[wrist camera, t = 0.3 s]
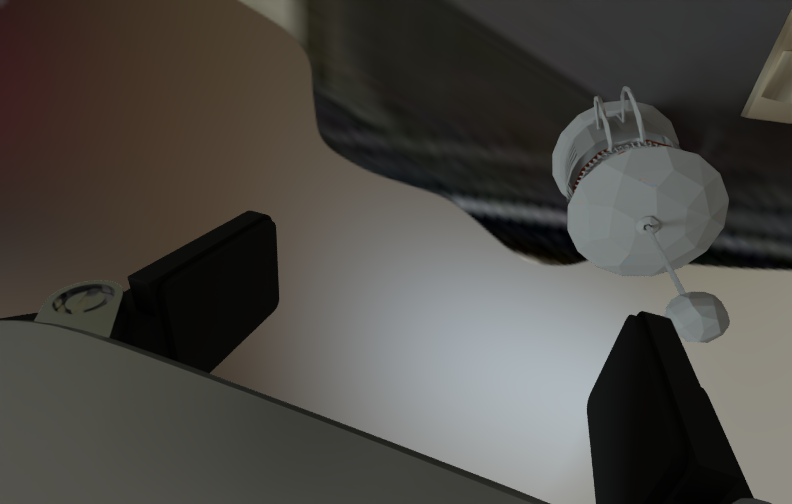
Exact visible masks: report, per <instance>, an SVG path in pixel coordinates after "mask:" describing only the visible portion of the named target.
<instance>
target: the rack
mask: <svg viewBox="0 0 792 504" xmlns="http://www.w3.org/2000/svg"><path fill="white" fill-rule="evenodd" d="M740 116H742V117H745V118H752V119H760V120H767V121H775V122H783V123H790V124H792V9H791V11H790V14H789V16H788V18H787V20H786V22H785V24H784V26H783V28H782V30H781V32H780V34H779V36H778V38H777V40H776V43H775V45H774V47H773V49H772V51H771V53H770V55H769V57H768V59H767V61H766V63H765V65H764V67H763V70H762V72H761V74H760V76H759V78H758V80H757V82H756V84H755V86H754V88H753V90H752V92H751V94H750V96H749V99H748V101H747V103H746V105H745V107H744V109H743V111H742V113H741V115H740Z"/></svg>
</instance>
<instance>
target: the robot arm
mask: <svg viewBox="0 0 792 504" xmlns="http://www.w3.org/2000/svg"><path fill="white" fill-rule="evenodd" d="M128 281H129V284H130V289H129V290H127V291H125V292H124V291H123V288H122V287H121V286H120V285H119V284H117V283H115V282H112V281H105V280H96V281H87V282H81V283H78V284H74V285H70V286H68V287H65V288H63V289H61V290H59V291H57V292H56V293H54V294H53V295H51V296H50V297H49V298H48V299H47V300H46V301H45V302H44V304H43V306H42V308H41V310H40V312H39V313H33V314H26V315H20V316H13V317H7V318H0V504H550V503H547V502H545V501H542V500H540V499H537V498H535V497H532V496H530V495H527V494H525V493H522V492H520V491H517V490H515V489H512V488H510V487H507V486H505V485H502V484H499V483H497V482H494V481H492V480H489V479H486V478H484V477H481V476H479V475H476V474H473V473H471V472H468V471H465V470H463V469H460V468H458V467H455V466H452V465H450V464H447V463H445V462H442V461H439V460H437V459H434V458H432V457H429V456H426V455H424V454H421V453H418V452H416V451H413V450H411V449H408V448H405V447H403V446H400V445H398V444H395V443H393V442H390V441H387V440H385V439H382V438H379V437H376V436H374V435H372V434H369V433H366V432H363V431H361V430H358V429H356V428H353V427H350V426H348V425H345V424H342V423H340V422H337V421H334V420H331V419H329V418H327V417H324V416H321V415H319V414H316V413H313V412H310V411H308V410H305V409H303V408H300V407H297V406H295V405H292V404H289V403H287V402H284V401H281V400H279V399H276V398H273V397H271V396H268V395H266V394H263V393H260V392H258V391H255V390H252V389H249V388H247V387H244V386H241V385H239V384H236V383H233V382H231V381H228V380H225V379H222V378H220V377H217V376H214V375H212V374H209V373H210V372H211V371H212V370H213V369H214V368H215V367H216V366H218V365H219V364H220V363H221V362H222V361H223V360H224V359H225V358H226V357H227V356H228V355H229V354H230V353H231V352H232V351H233V350H234V349H235V348H236V347H237V346H238V345H239V344H240V343H241V342H242V341H243V340H244V339H246V338H247V337H248V336H249V335H250V334H251V333H252V332H253V331H254V330H255V329H256V328H257V327H258V326H259V325H260V324H261V323H262V322H263V321H264V320H265V319H266V318H267V317H268V316H269V315H271V314H272V313H273V312H274V310H275V309H276V308H277V305H278V302H279V285H278V284H279V283H278V261H277V238H276V225H275V223H274V222H273V221H272V220H271V217H270V216H268V215H266V214H262V213H258V212H254V211H247V212H245V213H243V214H241V215H239V216H237V217H236V218H234V219H232V220H231V221H229V222H227V223H225V224H223V225H221V226H219V227H217V228H216V229H214V230H212V231H210V232H208V233H206V234H205V235H203V236H201V237H199V238H197V239H195V240H194V241H192V242H190V243H188V244H186V245H185V246H183V247H181V248H179V249H177V250H175V251H174V252H172V253H170V254H168V255H166V256H164V257H163V258H161V259H159V260H157V261H155V262H154V263H152V264H150V265H148V266H146V267H144V268H143V269H141V270H139V271H137V272H135V273H133V274H132V275H130V276H128ZM587 416H588V426H589V437H590V445H591V446H590V447H591V457H592V467H593V477H594V487H595V498H596V504H771V503H769V502H766V501H762V500H758V499H755V498H753V495H752V493H751V491H750V489H749V486H748V484H747V482H746V480H745V477H744V475H743V473H742V471H741V468H740V466H739V464H738V462H737V460H736V457H735V455H734V453H733V451H732V448H731V446H730V444H729V442H728V439H727V437H726V435H725V433H724V431H723V428H722V426H721V424H720V422H719V420H718V417H717V415H716V413H715V410H714V408H713V406H712V404H711V402H710V399H709V397H708V395H707V393H706V392H705V390H704V389H703V388H702V387H701V386H700V384H699V381H698V379H697V377H696V375H695V372H694V370H693V368H692V366H691V363H690V361H689V359H688V356H687V354H686V352H685V350H684V347H683V345H682V343H681V340H680V338H679V336H678V334H677V331H676V329H675V327H674V324H673V322H672V320H671V319H670V318H667V317H663V316H660V315H655V314H652V313H648V312H644V311H641V312H639V313H638V314H637V316H634V315H629V316H628V317H627V319H626V321H625V323H624V325H623V327H622V329H621V331H620V333H619V335H618V337H617V339H616V341H615V344H614V346H613V348H612V350H611V352H610V354H609V356H608V358H607V360H606V362H605V364H604V367H603V368H602V371H601V373H600V375H599V377H598V379H597V381H596V383H595V385H594V387H593V389H592V391H591V393H590V396H589V399H588V404H587Z"/></svg>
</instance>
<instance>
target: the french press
mask: <svg viewBox="0 0 792 504" xmlns="http://www.w3.org/2000/svg"><path fill="white" fill-rule="evenodd" d="M625 92H627V93H628V95H629V98H630V100H625ZM598 103H599V105H598ZM553 176H554V178H555V181H556V183H557V185H558V187H559V189H560V191H561V193H562V194H563V195H565V196H566V197H567V198H568V199H569V200H570V201H569V200H568V199H567V202H568V204H569V205H568V232H569V234H570V236H571V238H572V240H573V242H574V244H575V246H576V248H577V251H578V252H579V253H581V254H582V255H583V256H584V257H586V258H587V259H588V260H589V261H590V262H592V263H593V264H594V265H595V266H597V267H599V268H602V269H604V270H607V271H610V272H613V273H616V274H619V275H622V276H654V275H657V274H661V273H664V272H669V274H670V276H671V278H672V280H673V282H674V284H675V286H676V288H677V290H678V292H679V294H680V295H678V296H677V297H675V298H674V299H672V300H671V301H670V302H669V304H668V305H667V307H666V311H665V317H667V318H670V319H671V320H672V322H673V324H674V327H675V329H676V331H677V334H678V335H679V336H680V337H682V338H683V339H684V340H685V341H689V342H706V343H708V342H710V341H712V340H714V339H715V338H717V337H719V336H721V335H723V333H724V332H725V331H726V329H727V328H728V326H729V322H730V321H729V317H728V313H727V311H726V309H725V307H724V306H723V304H722V302H721V301H720V300H719V299H718V298H717V297H716V296H714V295H711V294H709V293H706V292H689V293H686V292H685V291H684V288H683V287H682V285H681V283H680V281H679V279H678V278H677V276H676V274H675V272H674V270H675V269H678V268H681V267H683V266H684V265H686V264H687V263H689V262H690V261H692V260H693V259H695V258H696V257H698V256H699V255H701V254H702V253H704V252H705V251H707V249H708V248H709V247H710V245H711V244H712V243H713V241H714V240H715V238H716V237H717V236H718V234H719V233H720V232H721V230H722V229H723V228H724V224H725V219H726V213H727V208H728V203H729V198H728V195H727V192H726V189H725V186H724V183H723V180H722V178H721V175H720V173H719V172H718V171H716V170H715V169H714V168H713V167H712V166H711V165H710V164H708V163H707V162H706V161H705V160H704V159H703V158H702V157H700V156H699V155H698V154H695V153H691V152H687V151H684V150H682V149H681V148H680V147H679V141H678V138H677V136H676V133H675V131H674V128H673V126H672V123H671V121H670V120H669V119H667V118H666V117H665V116H664V115H663V114H662V113H660V112H659V111H658V110H657V109H656V108H655V107H653V106H650V105H647V104H643V103H639V102H636V100H635V97H634V94H633V92H632V91H631V89H630V88H628V87H626V86H624V87H623V89H622V92H621V101H614V102H606V103H603V102H602V99H601V97H600V96H599V95H598V96H596V97H594V107H593V108H591V109H589V110H587V111H585V112H583V113H581V114H579V115H578V116H577V117H576V118H575V119H574V120H573V121H572V122H571V123H570V124H569V126H568V127H567V128H566V129H565V130H564V131H563V132H562V133H561V135H560V137H559V140H558V142H557V145H556V147H555V149H554V152H553Z"/></svg>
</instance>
